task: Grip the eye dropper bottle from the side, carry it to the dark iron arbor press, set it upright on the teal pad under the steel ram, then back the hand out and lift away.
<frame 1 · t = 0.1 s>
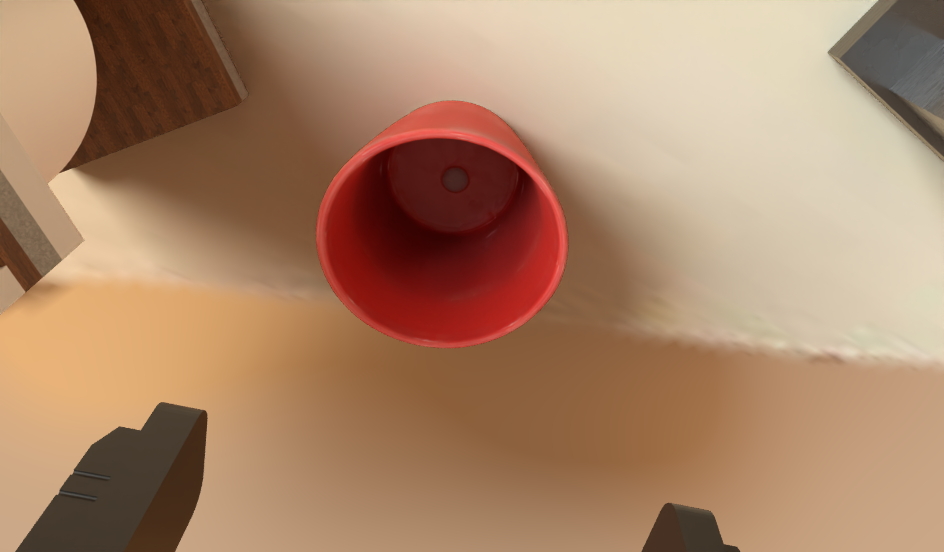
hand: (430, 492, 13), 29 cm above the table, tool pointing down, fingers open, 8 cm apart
flower pot: (454, 169, 42), on the table
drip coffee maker: (102, 33, 39), on the table
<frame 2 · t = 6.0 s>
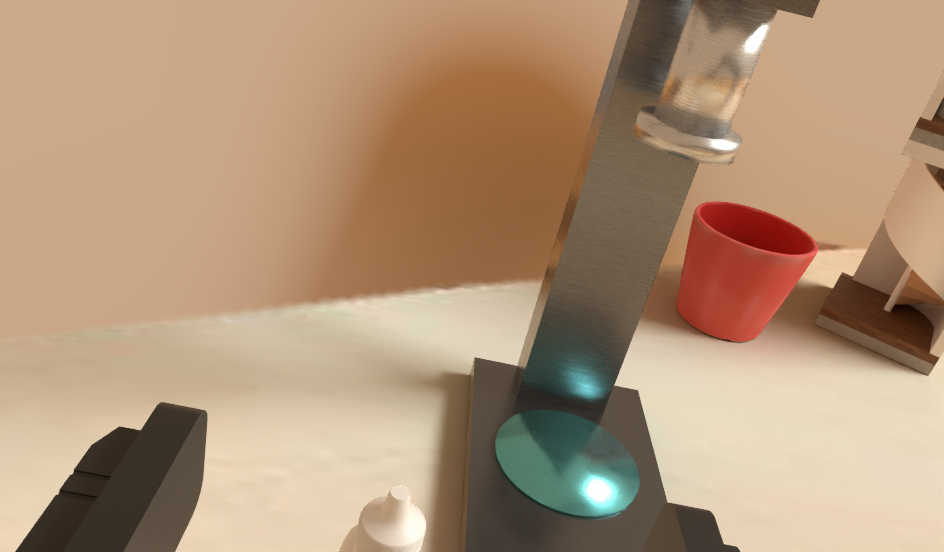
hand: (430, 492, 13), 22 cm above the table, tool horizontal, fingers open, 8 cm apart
arbor press: (560, 478, 47), on the table
flower pot: (714, 320, 71), on the table
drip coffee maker: (876, 329, 77), on the table
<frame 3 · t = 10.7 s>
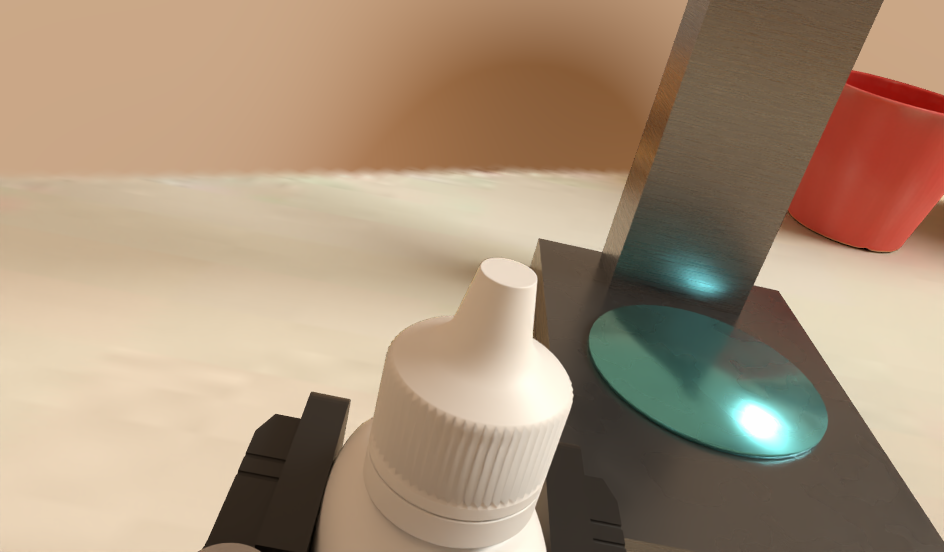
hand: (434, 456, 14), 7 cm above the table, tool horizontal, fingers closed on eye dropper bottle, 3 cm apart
arbor press: (689, 405, 29), on the table
flower pot: (838, 229, 53), on the table
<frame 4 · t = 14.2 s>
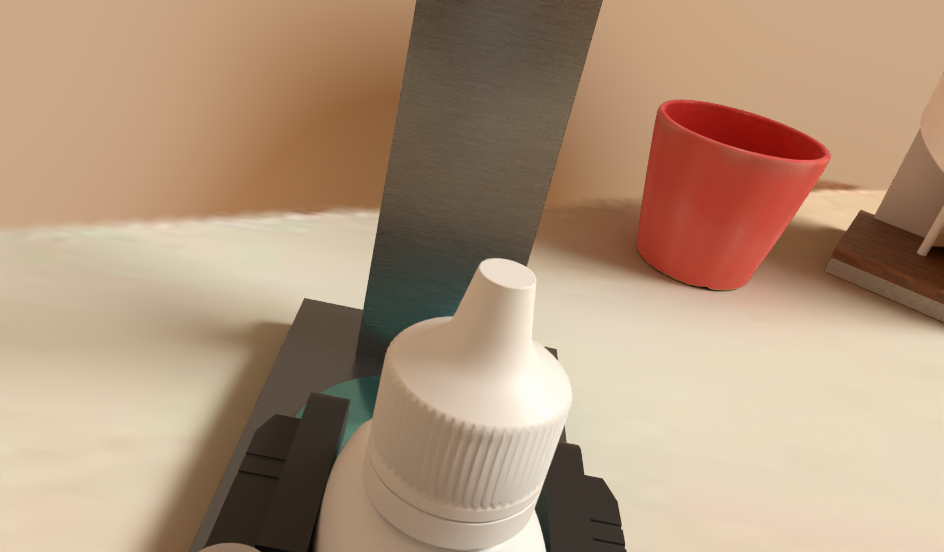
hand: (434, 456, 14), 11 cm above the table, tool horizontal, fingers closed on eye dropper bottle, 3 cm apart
arbor press: (404, 486, 28), on the table
flower pot: (688, 264, 52), on the table
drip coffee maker: (906, 280, 58), on the table
when the fingers open (9 cm above the table, at t = 17.5 s): eye dropper bottle stays where it is, resting on arbor press.
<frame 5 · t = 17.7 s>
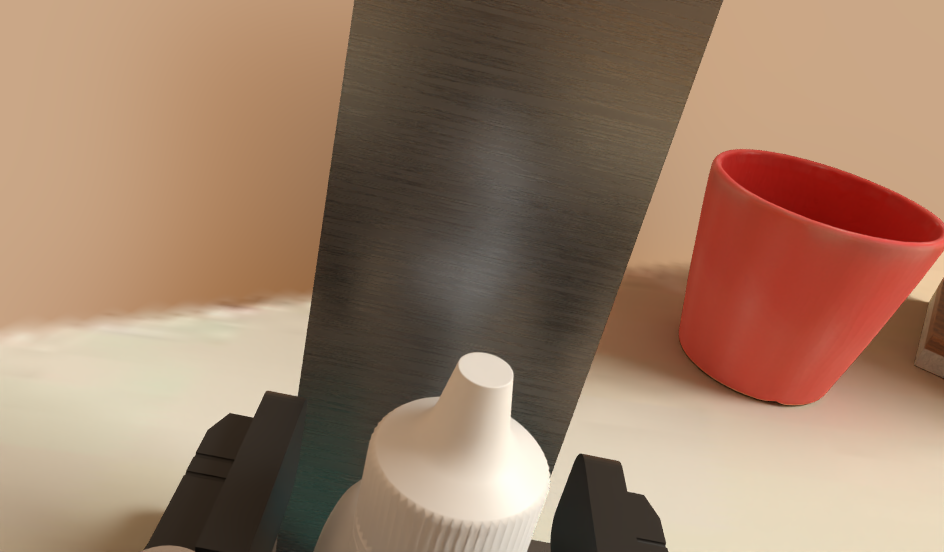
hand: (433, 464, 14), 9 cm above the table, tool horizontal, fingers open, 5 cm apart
flower pot: (746, 362, 40), on the table
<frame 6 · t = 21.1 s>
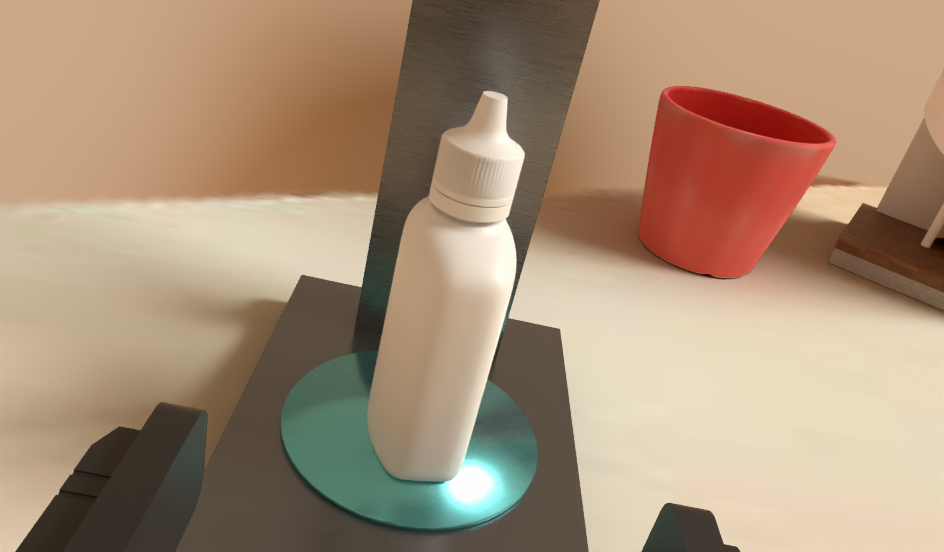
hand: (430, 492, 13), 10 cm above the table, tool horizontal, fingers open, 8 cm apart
eye dropper bottle: (413, 433, 27), point 2 cm above the table, touching arbor press
arbor press: (404, 462, 27), on the table
flower pot: (691, 253, 51), on the table
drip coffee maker: (910, 273, 57), on the table
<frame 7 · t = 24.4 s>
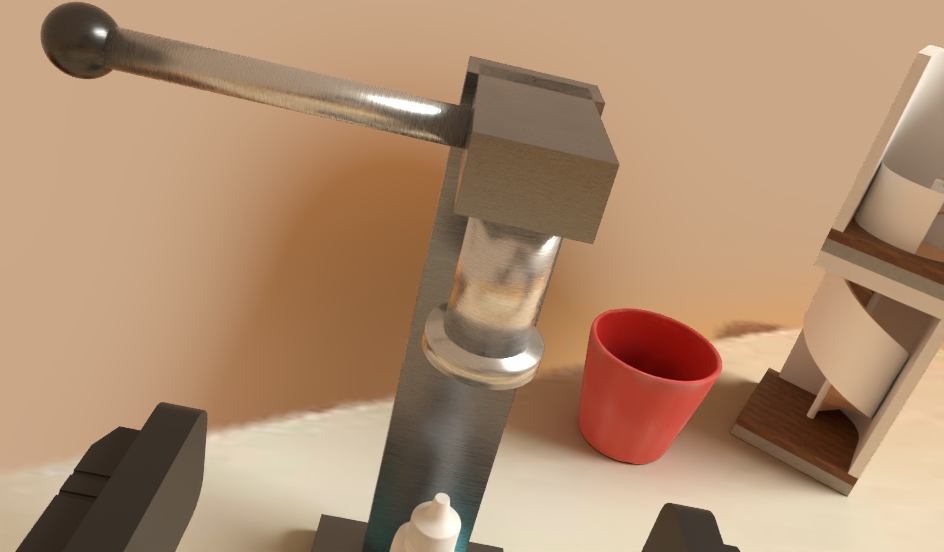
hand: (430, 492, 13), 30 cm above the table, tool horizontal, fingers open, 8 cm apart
flower pot: (619, 435, 66), on the table
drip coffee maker: (799, 436, 72), on the table
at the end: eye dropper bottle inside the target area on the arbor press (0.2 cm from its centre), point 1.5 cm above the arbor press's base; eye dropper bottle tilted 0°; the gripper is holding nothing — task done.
